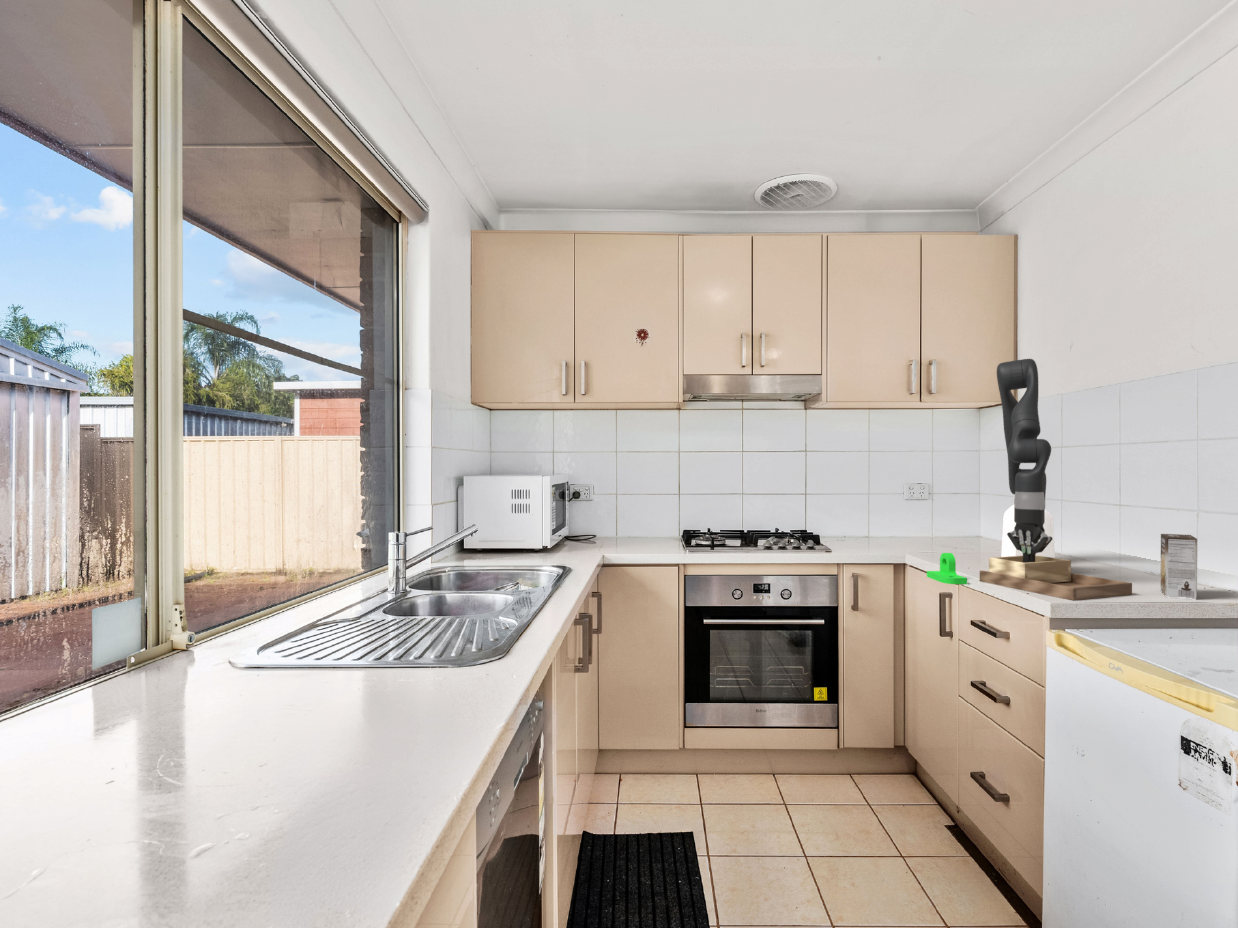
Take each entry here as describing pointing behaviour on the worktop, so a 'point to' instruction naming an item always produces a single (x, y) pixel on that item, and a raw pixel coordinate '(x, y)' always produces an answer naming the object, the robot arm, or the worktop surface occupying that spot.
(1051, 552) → the milk
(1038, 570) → the crate
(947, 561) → the mechanical part
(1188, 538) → the coffee box
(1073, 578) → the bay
